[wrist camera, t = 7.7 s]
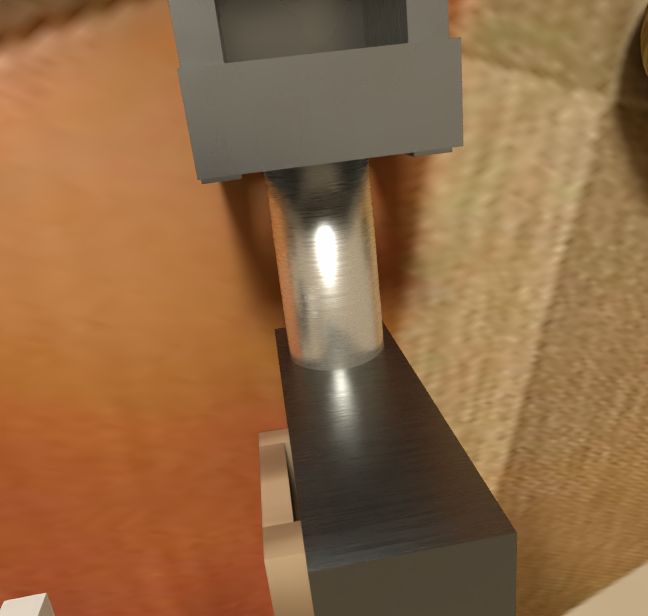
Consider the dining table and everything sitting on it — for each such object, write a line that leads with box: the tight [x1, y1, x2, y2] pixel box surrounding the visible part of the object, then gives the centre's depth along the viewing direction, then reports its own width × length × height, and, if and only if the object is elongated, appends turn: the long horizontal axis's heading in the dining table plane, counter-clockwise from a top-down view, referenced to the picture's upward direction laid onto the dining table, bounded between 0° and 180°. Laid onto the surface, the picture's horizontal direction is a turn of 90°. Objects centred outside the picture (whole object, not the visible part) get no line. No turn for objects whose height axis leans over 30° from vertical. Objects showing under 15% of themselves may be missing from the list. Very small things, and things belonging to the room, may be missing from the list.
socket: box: [259, 428, 314, 616], centre depth 21 cm, size 5×7×7 cm
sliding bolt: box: [264, 158, 517, 616], centre depth 16 cm, size 16×4×12 cm, turn 6°
